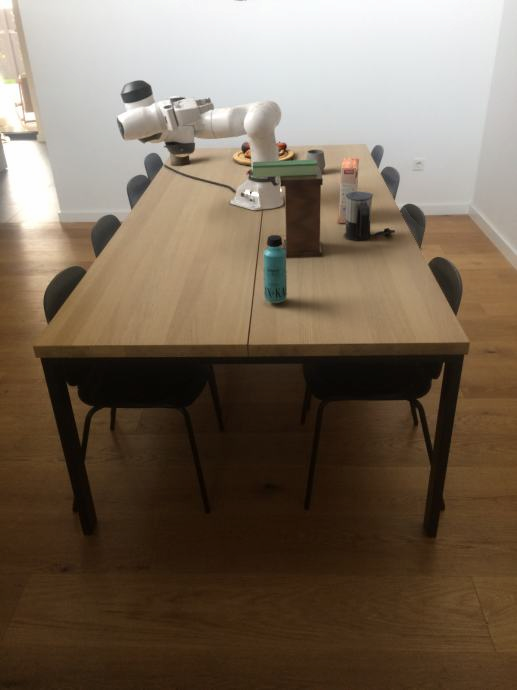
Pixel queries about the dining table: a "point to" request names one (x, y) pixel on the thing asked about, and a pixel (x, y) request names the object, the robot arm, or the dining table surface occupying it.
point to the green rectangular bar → (284, 168)
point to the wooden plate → (245, 154)
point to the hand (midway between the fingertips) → (212, 102)
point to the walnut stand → (302, 215)
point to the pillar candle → (179, 160)
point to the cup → (317, 158)
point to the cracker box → (347, 184)
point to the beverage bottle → (275, 270)
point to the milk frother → (360, 216)
